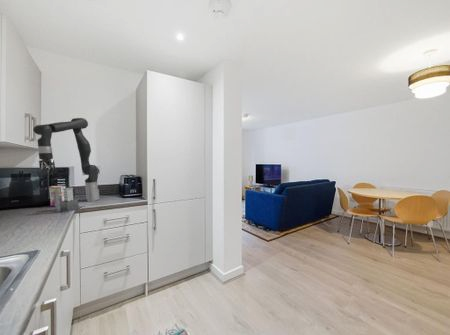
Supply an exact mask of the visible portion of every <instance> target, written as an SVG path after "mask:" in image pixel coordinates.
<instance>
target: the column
mask: <svg viewBox="0 0 450 335" xmlns="http://www.w3.org/2000/svg"><path fill="white" fill-rule="evenodd" d="M63 190H64V192H63V193H64V194H63V195H64V201H65V202H69V201H73V199H74V191H73V190H74V187H70V186H69V187H66V188H63Z"/></svg>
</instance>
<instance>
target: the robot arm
mask: <svg viewBox="0 0 450 335" xmlns="http://www.w3.org/2000/svg"><path fill="white" fill-rule="evenodd" d="M88 126H89V123H88V120H87V119H86V118H82V117H76V118H74V117H73V118H72V119H71V120H70V121H61V122H53V123H48V124H37V125H35V126H34V127H33V133H35V134H36V135H39V136H40V137H39V138H38V139H37V152H38V159H39V160H38V162H39V164H38V165H39V169H41V171H42V172H41V173H42V175H47V168H48V173H49V175H50V176H51V175H54V169H56V165H55V160H52V159H54V157H53V156H54V155H53V149H52V137H53V133H55V134H56V133H60V132H61V133H62V132H65V131H71V130H72V131H73V134H74V137H75V141H76V145H77V149H78V154H79V158H80V164H81V171H82V173H83V174H84V175H87V176H88V177H87V178H85V179H84V184H85V185H84V186H85V197H86V198H85V199H86V200H85V201H86V202H94V201H99V200H100V189H99V188H98V178H99V171H98V166H96V164H91V163H90V155H91V153H92V148H91V144H90V142H89V140H88V139H87V138H86V136H85V135H84V133H83V131H82V130H83V129H86V128H87V127H88Z"/></svg>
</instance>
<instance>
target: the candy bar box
mask: <svg viewBox="0 0 450 335" xmlns="http://www.w3.org/2000/svg"><path fill="white" fill-rule="evenodd" d="M63 188H67V186H66V185H65V186H64V185H63V186H62V185H53V186H48V193H49V204H50V207H55V199H54V191H59V193H61V192H62V194H61V195H59V200H60V201H64V195H63V194H64V193H63V192H64V190H63Z"/></svg>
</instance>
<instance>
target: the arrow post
mask: <svg viewBox="0 0 450 335" xmlns="http://www.w3.org/2000/svg"><path fill="white" fill-rule="evenodd" d="M61 194H62V192H61V193H59V191H54V199H55V206H54V210H56V211H55V213H56V214H58V213H61V212H60V200H59V195H61Z"/></svg>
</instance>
